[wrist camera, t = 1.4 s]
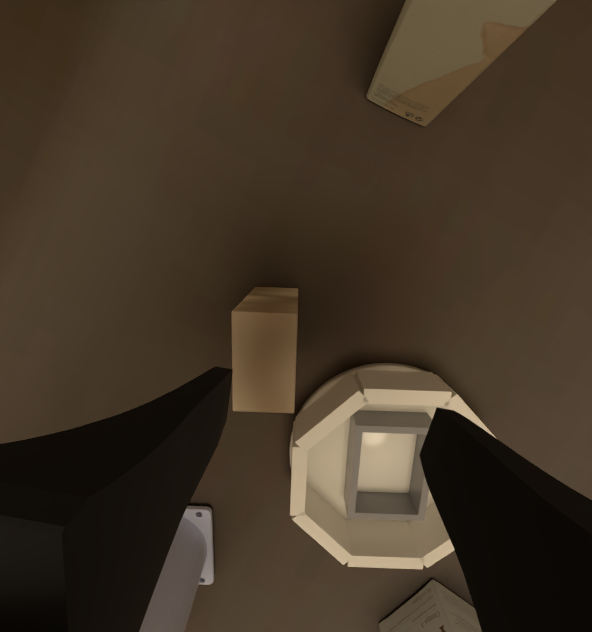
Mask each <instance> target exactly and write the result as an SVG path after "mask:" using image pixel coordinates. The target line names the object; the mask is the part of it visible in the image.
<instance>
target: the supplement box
mask: <svg viewBox="0 0 592 632" xmlns="http://www.w3.org/2000/svg"><path fill="white" fill-rule="evenodd" d="M379 629H380V632H482V631H481V627H480V624H479V620H478V617H477V613H476V610H475V608H474V607H472V606H471V605H469V604H468V603H467V602H465V601H464V600H462V599H461V598H460V597H458V596H457V595H455V594H454V593H453V592H451V591H450V590H448V589H447V588H445V587H444V586H442V585H441V584H440V583H438V582H437V581H435V580H433V579H432V580H431V581H430V582H429V583H428V584H427V585H426V586H425V587H424V588H423V589H422V590H420V591H419V592H418V593H417V594H416V595H415V596H413V597H412V598H411V599H410V600H409V601H407V602H406V603H405V604H404V605H402V606H401V607H400V608H399V609H397V610H396V611H395V612H394V613H392V614H391V615H390V616H389V617H387V618H386V619H384V620H383V621H381V623H379Z"/></svg>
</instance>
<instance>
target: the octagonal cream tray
mask: <svg viewBox="0 0 592 632" xmlns="http://www.w3.org/2000/svg"><path fill="white" fill-rule="evenodd" d="M437 407H438V408H443V409H449V410H454V411H456V412H458V413H460V414H461V415H463V416H464V417H466V418H468V419H469V420H471V421H472V422H473V423H475V424H476V425H478V426H479V427H481V428H482V429H484V430H485V431H486V432H488V433H489V434H491V435H492V436H493V437H495V436H494V435H493V434H492V433H491V432H490V431H489V430H488V428H487V427H486V426H485V425H484V424H483V423H482V422H481V421H480V419H479V418H478V417H477V416H476V415H475V414H474V413H473V412H472V410H471V409H470V408H469V407H468V406H467V405H466V404H465V402H464V401H463V400H462V398H461V397H460V396H459V395H458V394H457V393H456V392H455V391H453V390H452V389H451V388H450V387H449V386H448V385H447V384H446V383H445V382H444V381H443V380H442V379H441V378H440V377H439V376H438V375H437V374H435V375H434V374H433V373H432V372H427V371H425V370H422V369H419V368H417V367H414V366H409V365H405V364H398V363H374V364H367V365H362V366H359V367H355V368H352V369H349V370H347V371H344V372H342V373H340V374H338V375H336V376H334V377H333V378H331V379H329V380H328V381H326V382H325V383H324V384H322V385H321V386H320V387H319V388H318V389H317V390H316V391H314V392H313V393H312V394H311V395H310V397H309V398H308V399H307V400H306V402H305V403H304V404H303V406H302V408H301V409H300V411H299V413H298V415H297V416H296V417H295V421H293V429H292V432H291V439H290V466H291V471H292V472H291V502H290V515H292V520H293V521H294V522H295V523H296V524H298V525H299V526H300V527H301V528H302V529H303V530H304V531H305V532H307V533H308V534H309V535H310V536H311V537H312V538H313V539H314V540H316V541H317V542H318V543H319V544H320V545H321V546H322V547H324V548H325V549H326V550H327V551H328V552H329V553H330V554H331V555H333V556H334V557H335V558H336V559H337V560H338V561H339V562H340V563H342V564H343V565H344V564H345V563H347V565H348V567H373V568H400V569H423V564H424V565H425V566H426V567H427V568H428V567H430V566H431V565H433V564H434V563H436V562H437V561H439V560H440V559H442V558H443V557H445V556H446V555H448V554H449V553H451V552H452V551H454V547H453V545H452V543H451V540H450V538H449V536H448V533H447V531H446V528H445V526H444V524H443V521H442V519H441V517H440V514H439V512H438V510H437V507H436V505H435V502H434V500H433V497H432V495H431V493H430V490H429V488H428V485H427V482H426V479H425V475H424V472H423V468H422V464H421V460H420V456H419V454H420V452H421V449H422V446H423V443H424V441H425V438H426V435H427V432H428V430H429V427H430V424H431V421H432V419H433V416H434V413H435V411H436V408H437ZM495 438H496V437H495Z"/></svg>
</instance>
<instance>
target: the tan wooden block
mask: <svg viewBox="0 0 592 632" xmlns="http://www.w3.org/2000/svg"><path fill="white" fill-rule="evenodd" d="M297 321H298V288H276V287H255V288H254V289H253V290H252V291H251V292H250V293H249V294H248V295H247V296H246V297H245V298H244V299H243V300H242V301H241V302H240V303H239V304H238V305H237V306H236V307H235V308H234V309H233V310H232V370H233V372H232V383H233V411H246V412H273V413H294V402H295V375H296V348H297Z"/></svg>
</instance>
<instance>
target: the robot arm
mask: <svg viewBox="0 0 592 632" xmlns="http://www.w3.org/2000/svg"><path fill="white" fill-rule="evenodd" d="M232 372H233V370H232V369H227V368H221V367H214V368H212V369H210V370H208V371H207V372H205V373H203V374H202V375H200V376H198V377H197V378H195V379H193V380H191V381H190V382H188V383H186V384H184V385H182V386H181V387H179V388H177V389H175V390H173V391H171V392H169V393H167V394H165V395H163V396H161V397H159V398H157V399H155V400H153V401H151V402H149V403H146V404H144V405H142V406H139V407H137V408H134V409H132V410H129V411H126V412H124V413H121V414H119V415H116V416H113V417H110V418H106V419H103V420H100V421H97V422H93V423H90V424H87V425H84V426H81V427H77V428H73V429H69V430H66V431H62V432H58V433H54V434H49V435H45V436H40V437H36V438H31V439H26V440H21V441H16V442H10V443H5V444H0V632H185V629H186V625H187V622H188V619H189V615H190V612H191V608H192V605H193V601H194V598H195V595H196V591H197V588H198V584H204V585H209V584H212V583H213V581H214V549H213V519H212V509H211V508H209V507H207V506H188V504H189V502H190V500H191V498H192V496H193V494H194V492H195V490H196V488H197V486H198V484H199V482H200V480H201V478H202V476H203V474H204V472H205V470H206V467H207V465H208V463H209V461H210V459H211V457H212V455H213V453H214V451H215V449H216V447H217V445H218V442H219V439H220V437H221V434H222V431H223V428H224V425H225V422H226V419H227V411H228V403H229V396H230V388H231V380H232ZM419 456H420V460H421V464H422V468H423V472H424V475H425V479H426V482H427V485H428V488H429V490H430V493H431V495H432V497H433V500H434V502H435V505H436V507H437V510H438V512H439V514H440V517H441V519H442V521H443V524H444V526H445V528H446V531H447V533H448V536H449V538H450V540H451V543H452V545H453V547H454V550H455V552H456V554H457V557H458V560H459V562H460V565H461V568H462V570H463V573H464V576H465V579H466V582H467V585H468V588H469V592H470V595H471V598H472V601H473V604H474V607H475V610H476V613H477V617H478V620H479V624H480V627H481V631H482V632H592V500H590V499H588V498H587V497H585V496H583V495H582V494H580V493H578V492H576V491H575V490H573V489H571V488H570V487H568V486H566V485H565V484H563V483H562V482H560V481H558V480H557V479H555V478H554V477H552V476H550V475H549V474H547V473H546V472H544V471H543V470H541V469H540V468H538V467H537V466H535V465H534V464H532V463H531V462H529V461H528V460H526V459H525V458H523V457H522V456H520V455H519V454H517V453H516V452H515V451H513V450H512V449H510V448H509V447H507V446H506V445H505V444H503V443H502V442H500V441H499V440H498V439H496V438H495V437H493V436H492V435H491V434H489V433H488V432H486V431H485V430H484V429H482V428H481V427H479V426H478V425H476V424H475V423H473V422H472V421H471V420H469V419H468V418H466V417H464V416H463V415H461V414H460V413H458V412H456V411H454V410H449V409H443V408H438V407H437V408H436V411H435V413H434V416H433V419H432V421H431V424H430V427H429V430H428V432H427V435H426V438H425V441H424V443H423V446H422V449H421V452H420V454H419ZM198 512H201V513H198Z"/></svg>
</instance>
